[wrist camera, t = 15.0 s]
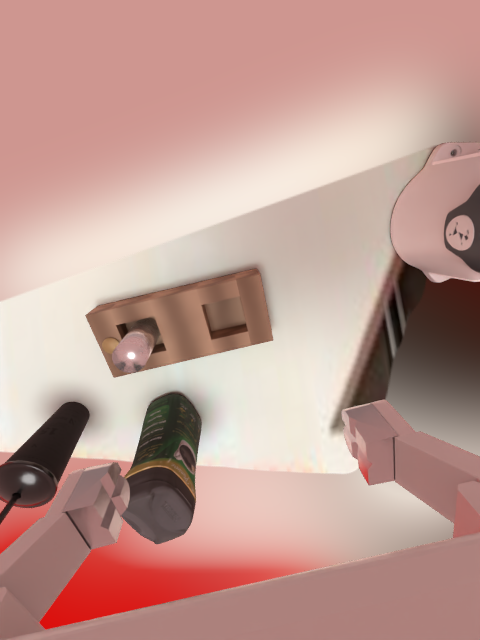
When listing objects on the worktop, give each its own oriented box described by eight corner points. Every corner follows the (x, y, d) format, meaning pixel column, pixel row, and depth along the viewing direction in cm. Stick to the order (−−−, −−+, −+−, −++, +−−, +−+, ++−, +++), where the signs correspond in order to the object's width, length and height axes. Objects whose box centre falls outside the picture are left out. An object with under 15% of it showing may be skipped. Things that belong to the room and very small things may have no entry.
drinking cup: (104, 427, 49) (35, 559, 31) (59, 434, 49) (-37, 570, 30) (90, 391, 46) (4, 511, 28) (43, 398, 46) (-74, 524, 28)
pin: (156, 315, 42) (140, 340, 33) (164, 339, 43) (150, 369, 34) (130, 320, 42) (106, 347, 33) (138, 344, 43) (118, 376, 35)
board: (256, 268, 41) (260, 274, 37) (268, 329, 45) (273, 341, 41) (97, 306, 41) (84, 316, 37) (122, 363, 45) (113, 378, 41)
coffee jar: (140, 404, 48) (97, 512, 31) (181, 385, 47) (160, 485, 30) (169, 442, 52) (145, 559, 34) (208, 425, 51) (203, 536, 33)
